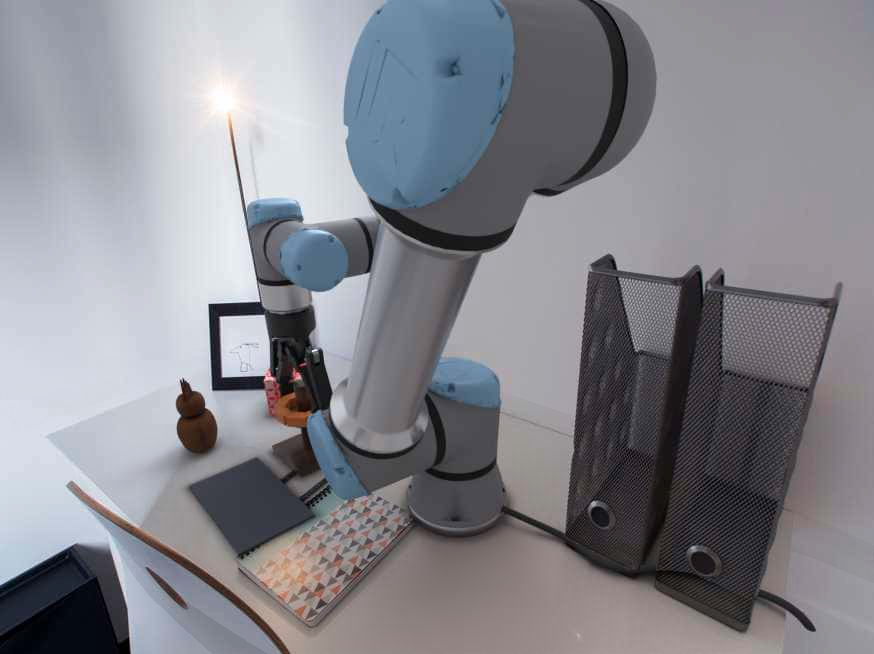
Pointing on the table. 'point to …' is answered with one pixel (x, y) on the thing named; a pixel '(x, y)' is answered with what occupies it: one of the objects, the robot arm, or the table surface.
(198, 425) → the wooden figurine
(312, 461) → the ring stand
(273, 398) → the red patterned cube
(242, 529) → the mat
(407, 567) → the table surface
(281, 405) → the ring
